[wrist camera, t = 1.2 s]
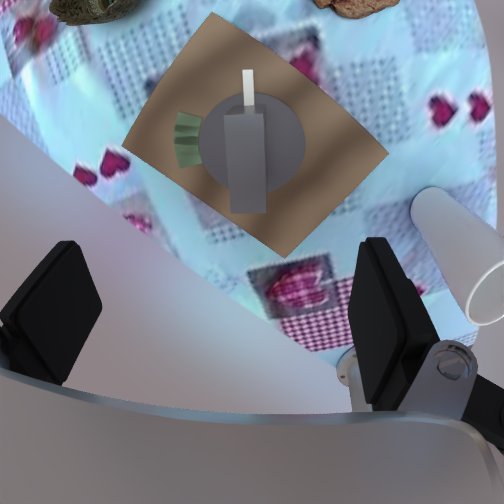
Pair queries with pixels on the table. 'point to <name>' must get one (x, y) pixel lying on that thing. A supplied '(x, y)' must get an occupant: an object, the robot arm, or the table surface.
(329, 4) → the cookie
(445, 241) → the drinking glass
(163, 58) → the table surface
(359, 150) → the wooden board
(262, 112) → the tuning knob
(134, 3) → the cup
